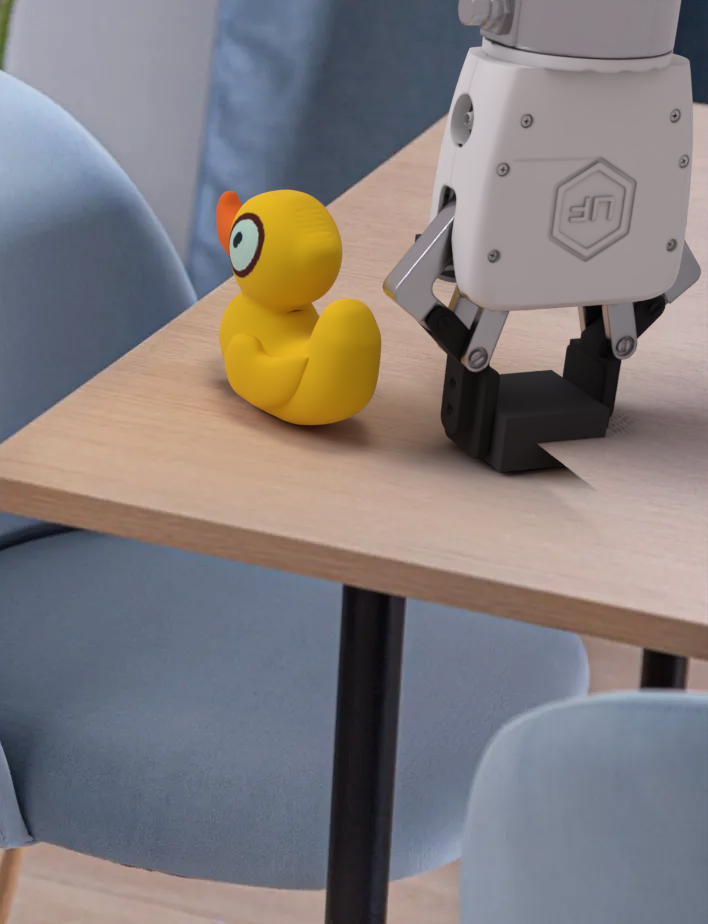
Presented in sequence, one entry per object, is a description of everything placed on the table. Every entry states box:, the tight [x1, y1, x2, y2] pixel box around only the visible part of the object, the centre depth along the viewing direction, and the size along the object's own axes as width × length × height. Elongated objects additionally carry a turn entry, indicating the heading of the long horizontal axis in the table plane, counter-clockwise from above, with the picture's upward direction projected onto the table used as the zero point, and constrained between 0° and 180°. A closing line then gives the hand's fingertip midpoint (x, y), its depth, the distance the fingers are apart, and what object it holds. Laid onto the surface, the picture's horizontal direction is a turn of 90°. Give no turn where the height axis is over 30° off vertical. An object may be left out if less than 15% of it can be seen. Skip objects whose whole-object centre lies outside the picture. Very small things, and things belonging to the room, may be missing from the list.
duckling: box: [215, 189, 382, 426], centre depth 79 cm, size 11×5×10 cm, turn 32°
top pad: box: [481, 369, 609, 473], centre depth 78 cm, size 5×5×2 cm
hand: (524, 436), depth 78 cm, fingers closed on top pad, 5 cm apart
